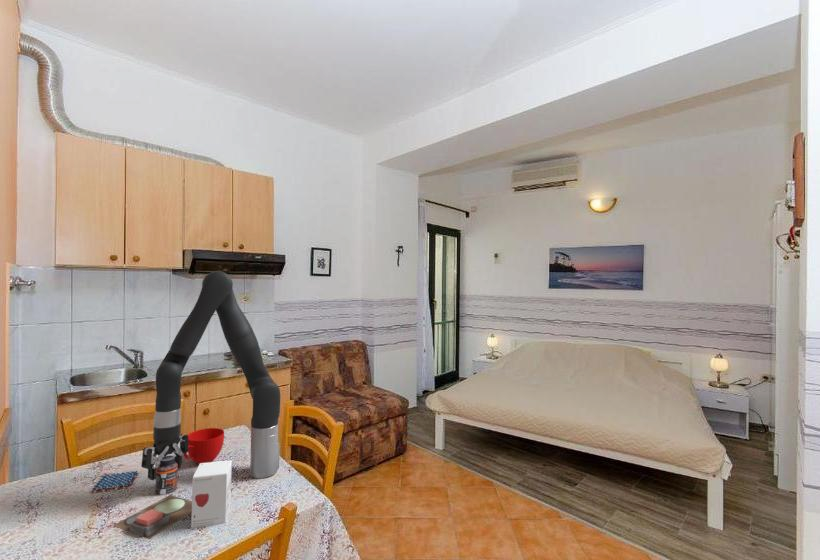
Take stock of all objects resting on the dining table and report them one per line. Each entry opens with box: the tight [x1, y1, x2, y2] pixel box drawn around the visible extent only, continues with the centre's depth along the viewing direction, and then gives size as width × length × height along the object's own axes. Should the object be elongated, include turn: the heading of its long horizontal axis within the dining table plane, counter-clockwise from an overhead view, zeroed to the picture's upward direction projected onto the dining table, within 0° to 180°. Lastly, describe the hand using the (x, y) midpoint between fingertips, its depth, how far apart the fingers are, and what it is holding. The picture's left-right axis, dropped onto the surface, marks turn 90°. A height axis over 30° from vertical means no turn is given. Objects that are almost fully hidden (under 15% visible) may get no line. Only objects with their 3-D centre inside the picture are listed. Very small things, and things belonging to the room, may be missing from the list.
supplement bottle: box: [155, 455, 179, 496], centre depth 126 cm, size 6×6×11 cm
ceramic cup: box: [183, 427, 225, 465], centre depth 147 cm, size 13×17×10 cm
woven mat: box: [92, 470, 140, 494], centre depth 131 cm, size 10×11×2 cm
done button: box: [136, 509, 163, 527], centre depth 107 cm, size 4×4×2 cm
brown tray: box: [112, 494, 192, 540], centre depth 112 cm, size 17×14×3 cm
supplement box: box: [190, 459, 233, 529], centre depth 112 cm, size 9×9×15 cm
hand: (165, 473), depth 125 cm, fingers open, 8 cm apart
